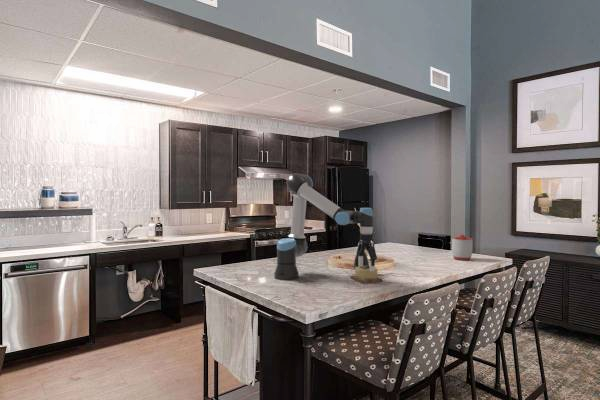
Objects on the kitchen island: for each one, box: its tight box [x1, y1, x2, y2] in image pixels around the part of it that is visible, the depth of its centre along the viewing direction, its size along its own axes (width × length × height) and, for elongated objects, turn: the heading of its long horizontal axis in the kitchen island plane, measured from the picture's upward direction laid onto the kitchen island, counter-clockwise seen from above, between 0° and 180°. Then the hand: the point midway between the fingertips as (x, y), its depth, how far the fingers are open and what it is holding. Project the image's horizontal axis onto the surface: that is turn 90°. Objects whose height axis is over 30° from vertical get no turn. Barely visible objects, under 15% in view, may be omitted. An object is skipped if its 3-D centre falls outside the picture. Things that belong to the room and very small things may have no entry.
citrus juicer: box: [449, 234, 474, 261], centre depth 290 cm, size 16×17×20 cm
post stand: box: [350, 265, 384, 285], centre depth 219 cm, size 14×14×8 cm
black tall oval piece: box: [352, 251, 370, 272], centre depth 237 cm, size 10×10×15 cm
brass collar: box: [354, 265, 378, 280], centre depth 219 cm, size 10×10×6 cm
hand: (366, 268), depth 219 cm, fingers open, 13 cm apart
